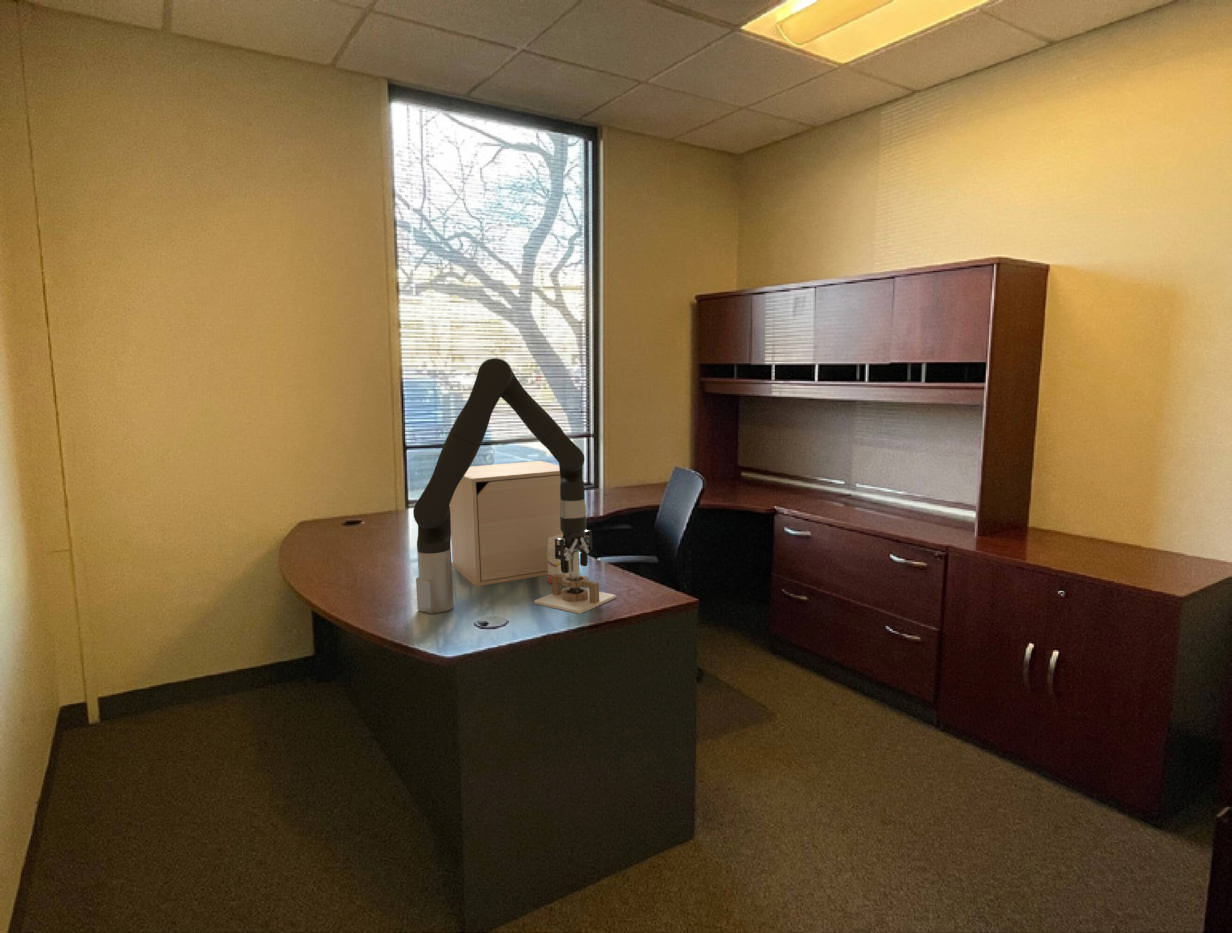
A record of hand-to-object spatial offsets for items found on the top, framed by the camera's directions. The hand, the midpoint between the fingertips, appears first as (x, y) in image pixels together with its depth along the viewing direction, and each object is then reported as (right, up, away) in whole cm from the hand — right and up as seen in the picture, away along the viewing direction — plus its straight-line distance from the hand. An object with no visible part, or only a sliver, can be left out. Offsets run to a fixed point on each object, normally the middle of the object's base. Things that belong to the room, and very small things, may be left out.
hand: (574, 569), depth 210 cm
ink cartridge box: (-5, -7, +21) cm, 23 cm away
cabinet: (-23, -5, +38) cm, 45 cm away
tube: (0, -9, +1) cm, 9 cm away
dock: (0, -9, +1) cm, 9 cm away
